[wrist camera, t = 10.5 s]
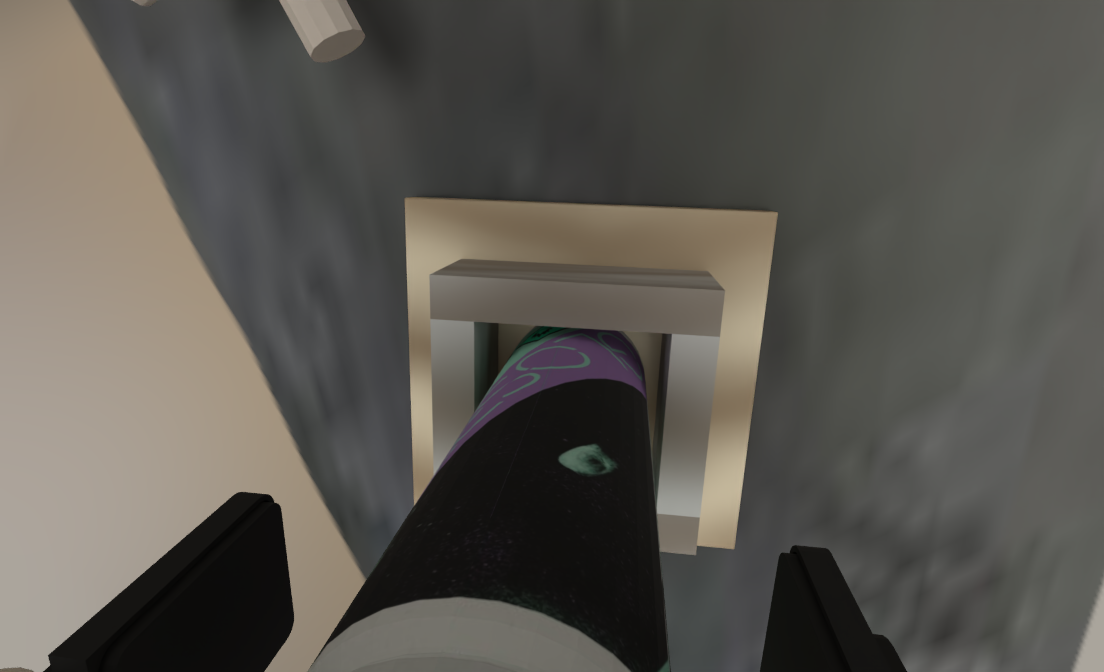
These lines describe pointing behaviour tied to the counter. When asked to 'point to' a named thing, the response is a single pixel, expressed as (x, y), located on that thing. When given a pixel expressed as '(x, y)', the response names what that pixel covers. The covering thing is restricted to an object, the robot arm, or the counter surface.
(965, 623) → the counter surface
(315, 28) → the pipe connector
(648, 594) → the spray can
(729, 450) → the collar block
